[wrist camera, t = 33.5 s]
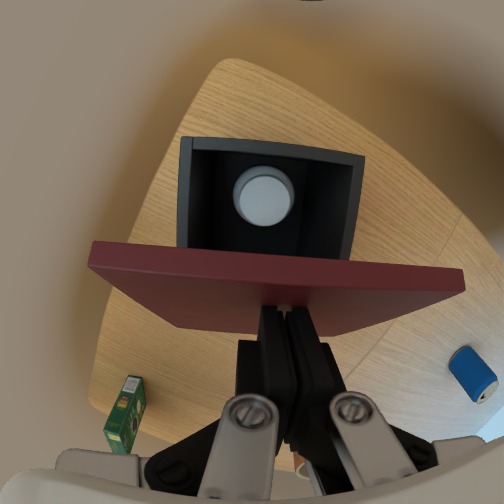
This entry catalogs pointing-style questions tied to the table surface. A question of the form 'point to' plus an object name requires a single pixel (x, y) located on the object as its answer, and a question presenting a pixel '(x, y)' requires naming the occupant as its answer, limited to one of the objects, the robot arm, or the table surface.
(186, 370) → the table surface
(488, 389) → the beverage can
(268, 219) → the pill bottle
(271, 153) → the dark gray box
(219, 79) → the table surface
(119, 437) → the coffee box
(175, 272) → the keepsake box lid
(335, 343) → the table surface
